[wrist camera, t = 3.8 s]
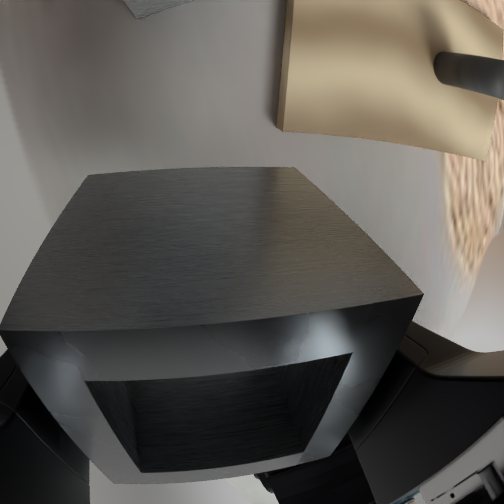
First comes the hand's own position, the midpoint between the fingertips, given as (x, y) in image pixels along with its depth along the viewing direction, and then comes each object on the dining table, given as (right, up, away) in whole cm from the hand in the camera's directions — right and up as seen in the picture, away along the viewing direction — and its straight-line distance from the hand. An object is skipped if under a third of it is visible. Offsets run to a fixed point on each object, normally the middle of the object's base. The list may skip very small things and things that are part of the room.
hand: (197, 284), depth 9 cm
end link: (0, +1, +1) cm, 1 cm away
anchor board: (+12, +14, +7) cm, 19 cm away
